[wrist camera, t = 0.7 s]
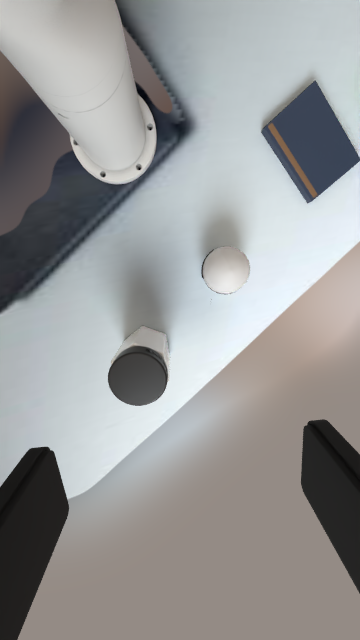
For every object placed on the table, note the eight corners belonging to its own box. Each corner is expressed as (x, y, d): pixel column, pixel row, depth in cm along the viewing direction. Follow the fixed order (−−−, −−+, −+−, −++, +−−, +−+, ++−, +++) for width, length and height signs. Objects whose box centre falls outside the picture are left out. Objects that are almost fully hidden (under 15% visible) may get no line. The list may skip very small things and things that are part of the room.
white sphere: (215, 238, 39) (224, 233, 32) (250, 263, 41) (267, 263, 33) (182, 288, 41) (184, 294, 34) (217, 311, 42) (226, 321, 35)
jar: (173, 366, 45) (173, 404, 33) (131, 373, 45) (116, 413, 33) (164, 321, 43) (161, 344, 31) (120, 329, 43) (100, 354, 31)
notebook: (260, 131, 36) (264, 127, 35) (310, 86, 35) (315, 79, 33) (307, 203, 38) (311, 201, 37) (355, 163, 37) (361, 159, 36)
